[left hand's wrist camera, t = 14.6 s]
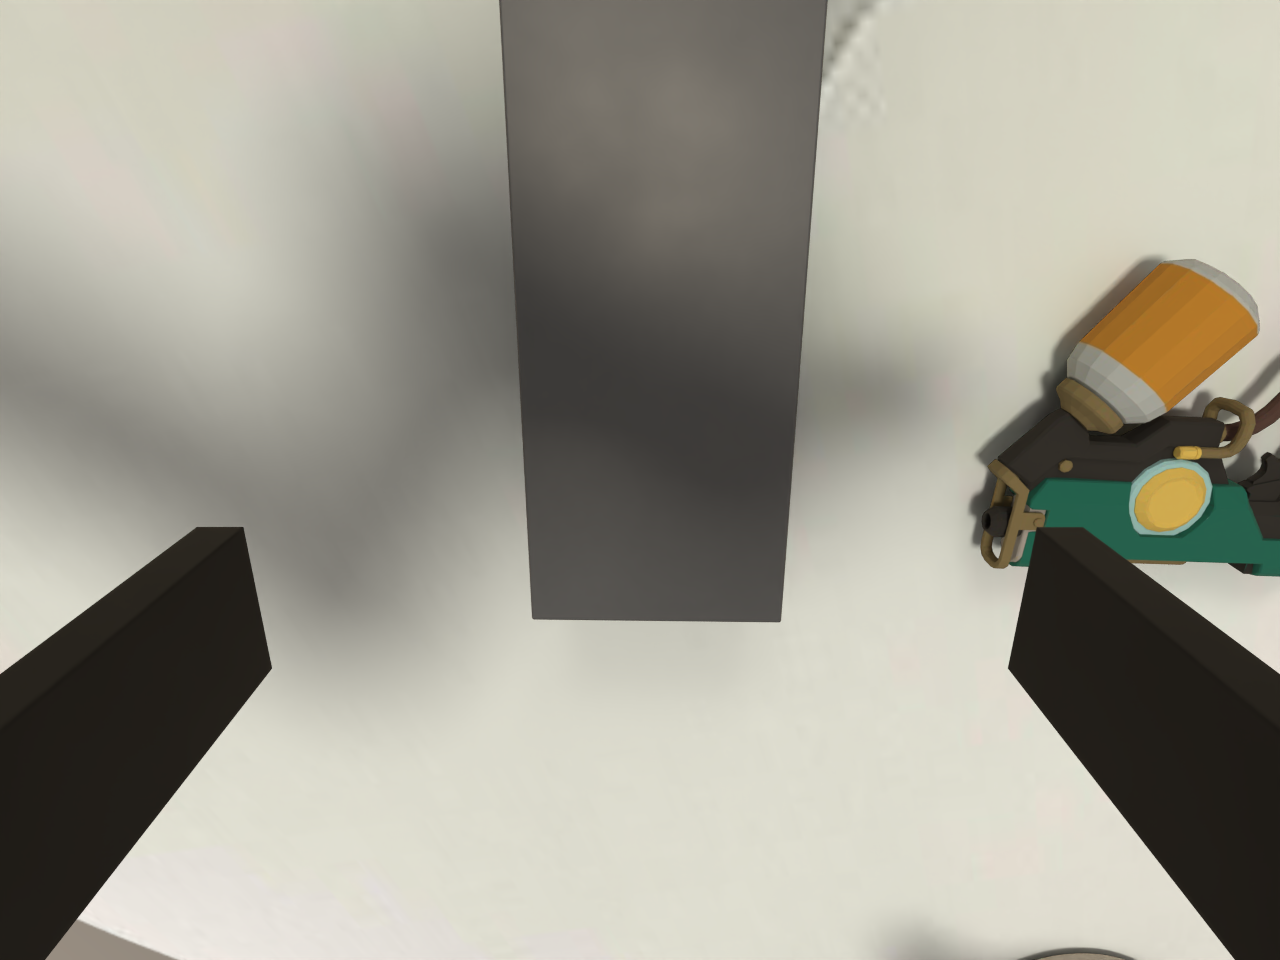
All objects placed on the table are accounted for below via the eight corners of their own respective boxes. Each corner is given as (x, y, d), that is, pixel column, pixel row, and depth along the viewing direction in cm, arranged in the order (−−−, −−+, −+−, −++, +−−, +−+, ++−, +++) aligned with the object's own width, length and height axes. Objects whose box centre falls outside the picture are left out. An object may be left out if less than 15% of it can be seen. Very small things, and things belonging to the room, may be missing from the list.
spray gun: (1453, 332, 31) (1233, 623, 37) (1110, 193, 29) (928, 528, 34) (1572, 356, 27) (1306, 678, 33) (1188, 198, 25) (969, 575, 30)
